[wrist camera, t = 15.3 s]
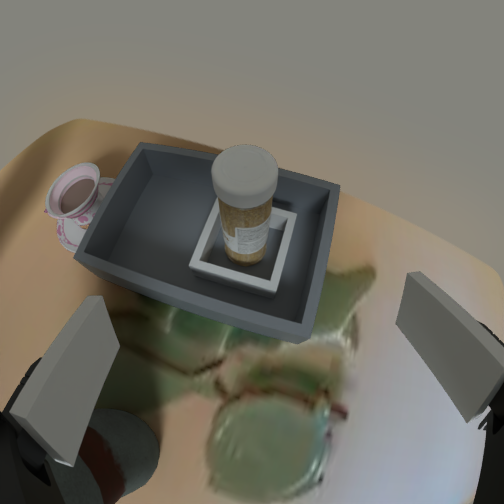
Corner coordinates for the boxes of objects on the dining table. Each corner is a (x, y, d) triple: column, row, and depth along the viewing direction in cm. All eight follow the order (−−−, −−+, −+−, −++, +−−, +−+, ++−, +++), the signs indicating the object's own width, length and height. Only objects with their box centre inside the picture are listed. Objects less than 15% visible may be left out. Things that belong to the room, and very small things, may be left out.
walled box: (98, 276, 30) (73, 257, 24) (152, 171, 36) (140, 142, 30) (297, 344, 27) (310, 338, 22) (327, 214, 33) (340, 185, 28)
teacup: (118, 166, 37) (103, 138, 31) (141, 226, 33) (123, 199, 27) (54, 205, 34) (34, 182, 28) (66, 270, 30) (38, 251, 24)
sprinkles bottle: (222, 233, 31) (207, 146, 19) (262, 226, 31) (270, 138, 19) (228, 271, 29) (214, 197, 17) (271, 264, 30) (286, 187, 17)
